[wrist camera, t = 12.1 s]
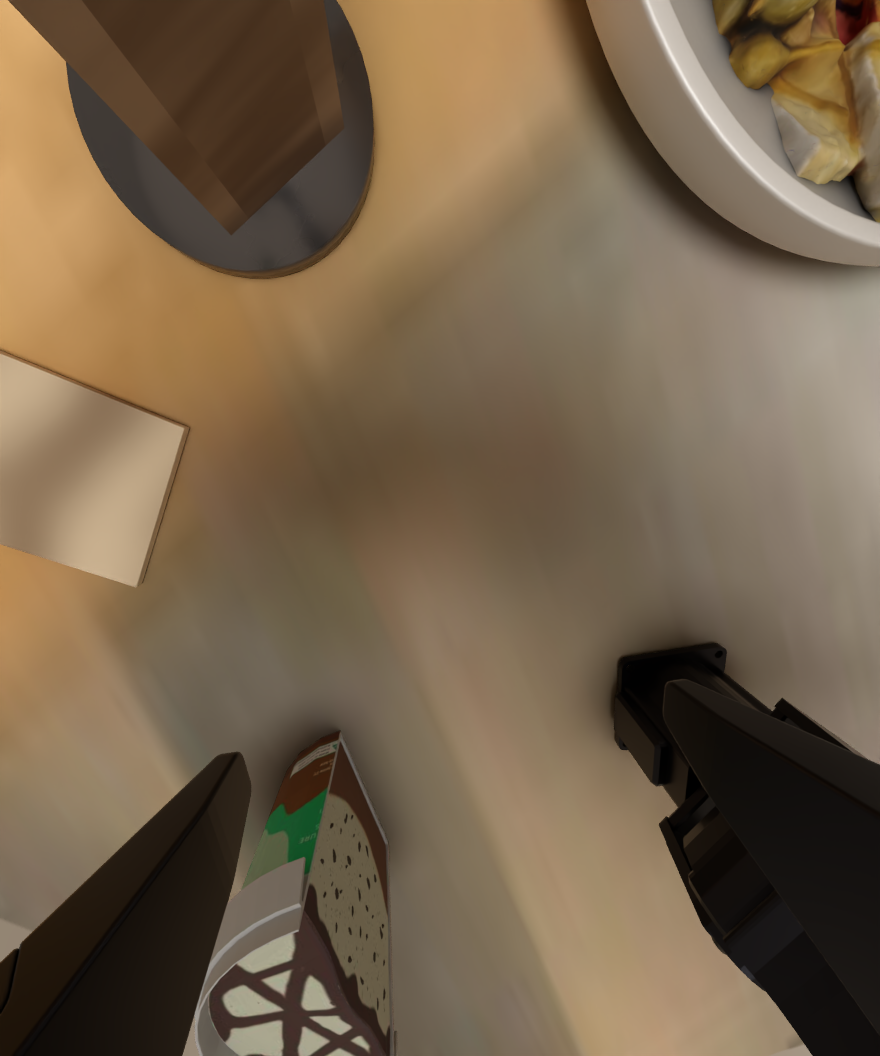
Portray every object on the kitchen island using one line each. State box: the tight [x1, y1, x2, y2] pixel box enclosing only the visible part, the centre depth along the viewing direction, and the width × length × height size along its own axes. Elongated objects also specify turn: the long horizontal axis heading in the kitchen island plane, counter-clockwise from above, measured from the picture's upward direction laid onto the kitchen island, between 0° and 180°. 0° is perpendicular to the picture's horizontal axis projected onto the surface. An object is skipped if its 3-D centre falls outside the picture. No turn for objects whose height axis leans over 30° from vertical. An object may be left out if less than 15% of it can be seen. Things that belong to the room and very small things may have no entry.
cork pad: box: [0, 350, 189, 587], centre depth 18 cm, size 8×8×1 cm
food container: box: [195, 731, 398, 1056], centre depth 20 cm, size 12×6×10 cm, turn 15°
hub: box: [66, 0, 374, 278], centre depth 13 cm, size 10×10×5 cm
